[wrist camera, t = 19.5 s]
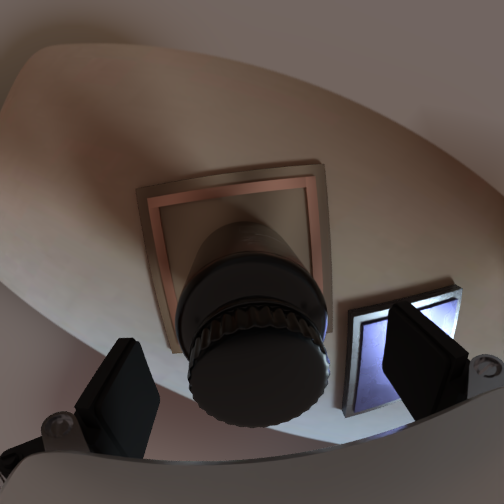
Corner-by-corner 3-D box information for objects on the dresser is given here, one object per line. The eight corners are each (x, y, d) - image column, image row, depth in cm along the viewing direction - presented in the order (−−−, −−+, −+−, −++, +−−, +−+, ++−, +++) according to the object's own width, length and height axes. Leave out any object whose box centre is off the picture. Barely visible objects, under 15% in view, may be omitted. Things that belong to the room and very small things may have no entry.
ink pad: (455, 284, 22) (464, 289, 21) (434, 378, 26) (441, 386, 24) (348, 310, 22) (355, 318, 21) (341, 410, 25) (346, 420, 24)
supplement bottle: (175, 259, 20) (112, 361, 8) (255, 199, 19) (291, 235, 7) (234, 328, 21) (240, 461, 10) (310, 277, 21) (386, 382, 9)
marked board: (322, 164, 19) (325, 163, 18) (330, 329, 22) (333, 333, 22) (137, 188, 19) (134, 189, 18) (173, 351, 22) (172, 355, 21)
